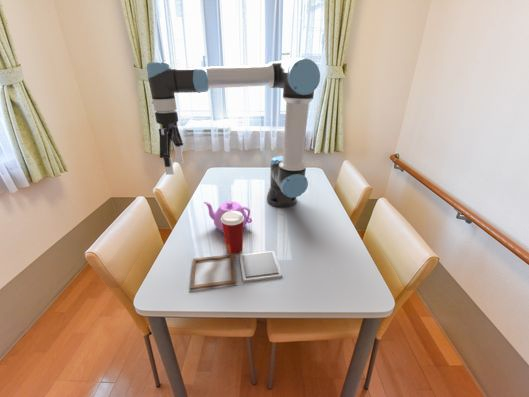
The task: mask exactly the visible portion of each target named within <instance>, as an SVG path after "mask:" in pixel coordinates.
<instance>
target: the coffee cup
mask: <svg viewBox="0 0 529 397" xmlns="http://www.w3.org/2000/svg"><path fill="white" fill-rule="evenodd" d="M243 221H244V217H243V215H242V213H241V212H239V211H228V212H226V213H224V214H223V215H222V217H221V222H222V224H223V230H224V232H223V235H224V242H225V248H226V252H227V253H228V254H229V255H230V254H232V255H239V254H240V253H242V251H243V243H244V242H243V241H244V240H243V239H244V227H243Z"/></svg>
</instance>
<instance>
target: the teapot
mask: <svg viewBox="0 0 529 397" xmlns="http://www.w3.org/2000/svg"><path fill="white" fill-rule="evenodd" d="M203 204H205V206H207V208H208V215H209V217H210V218H211V220H213V223H214V226H215V227H216V228H217V229H218V230H220V232H221V233H224V230H223V224H222V222H221V217H222V215H223V214H224V213H226V212H228V211H239V212H241V213H242V215H243V217H244V221H243V228H244V227H245V226H246V225H247V224H250V223H252V221H253V220H252V217H250V215H251V209H250V208H249V207H247V206H242V205H241V204H240V203H238V202H236V201H232V200H228V201H225V202H222V203H221V204H220V205H219V206H218V207H217V210H216V211H214V210H213V206H212V204H211V203H210V202H208V201H207V202H206V201H204V202H203ZM246 211H247V212H246Z"/></svg>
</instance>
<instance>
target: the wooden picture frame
mask: <svg viewBox="0 0 529 397" xmlns="http://www.w3.org/2000/svg"><path fill="white" fill-rule="evenodd" d="M235 262H236V261H235V254H230V253H229V254H224V255H223V254H222V255H215V256H205V257H195V258H193V259H192V260H191V267H190V275H189V286H188V289H189V290H188V292H197V291H204V290H212V289H219V288H227V287H234V286H238V280H237V270H236V263H235Z"/></svg>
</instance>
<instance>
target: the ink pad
mask: <svg viewBox="0 0 529 397" xmlns="http://www.w3.org/2000/svg"><path fill="white" fill-rule="evenodd" d="M238 255H239V261H240V262H239V264H240V268H241V277H242V283H246V282H254V281H262V280H263V281H264V280H270V279H278V278H279V279H280V278H283V273H282V270H281V267H280V264H279V261H278V258H277V254H276V252H275V250H269V251H261V252H252V253H244V254H243V253H242V254H238Z"/></svg>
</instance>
